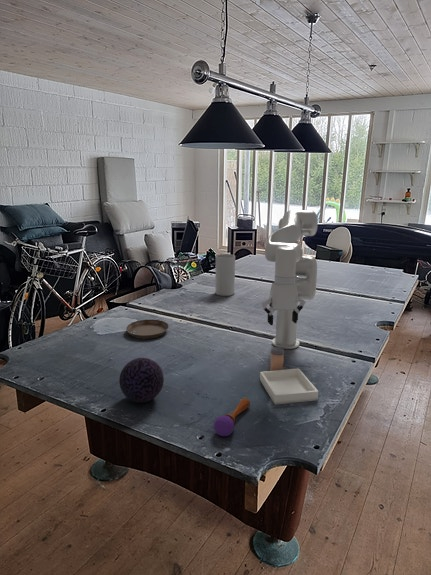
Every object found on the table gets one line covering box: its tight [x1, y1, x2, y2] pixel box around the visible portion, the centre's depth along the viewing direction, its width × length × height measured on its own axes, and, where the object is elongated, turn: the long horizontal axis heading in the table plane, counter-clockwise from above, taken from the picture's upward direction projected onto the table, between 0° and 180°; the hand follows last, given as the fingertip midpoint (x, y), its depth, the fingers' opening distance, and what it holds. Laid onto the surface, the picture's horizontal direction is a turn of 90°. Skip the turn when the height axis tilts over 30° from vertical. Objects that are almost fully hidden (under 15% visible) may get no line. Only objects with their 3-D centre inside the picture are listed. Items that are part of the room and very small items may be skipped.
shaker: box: [269, 346, 285, 371], centre depth 164 cm, size 5×5×9 cm
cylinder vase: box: [214, 253, 236, 297], centre depth 267 cm, size 12×12×25 cm
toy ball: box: [118, 357, 165, 403], centre depth 142 cm, size 15×15×15 cm
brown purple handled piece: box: [213, 397, 251, 437], centre depth 130 cm, size 6×6×20 cm
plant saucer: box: [125, 318, 170, 340], centre depth 204 cm, size 21×21×3 cm
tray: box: [259, 367, 319, 406], centre depth 150 cm, size 18×16×4 cm
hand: (282, 323), depth 158 cm, fingers open, 9 cm apart
